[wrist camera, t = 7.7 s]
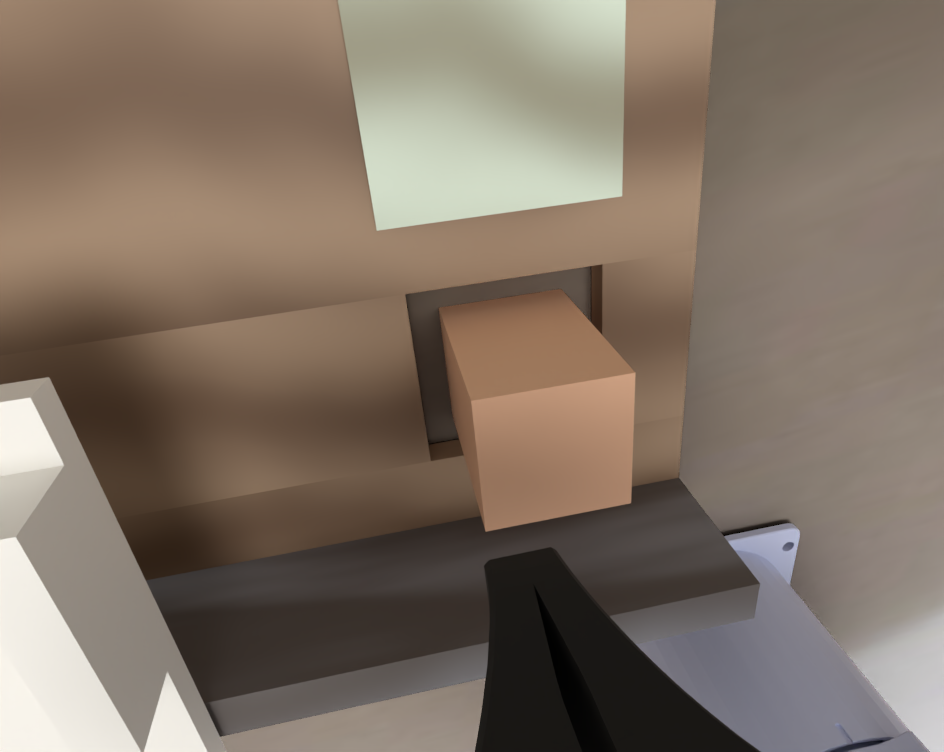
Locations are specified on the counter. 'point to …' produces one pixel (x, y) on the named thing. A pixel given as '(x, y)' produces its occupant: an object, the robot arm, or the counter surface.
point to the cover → (78, 605)
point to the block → (538, 408)
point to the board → (348, 308)
